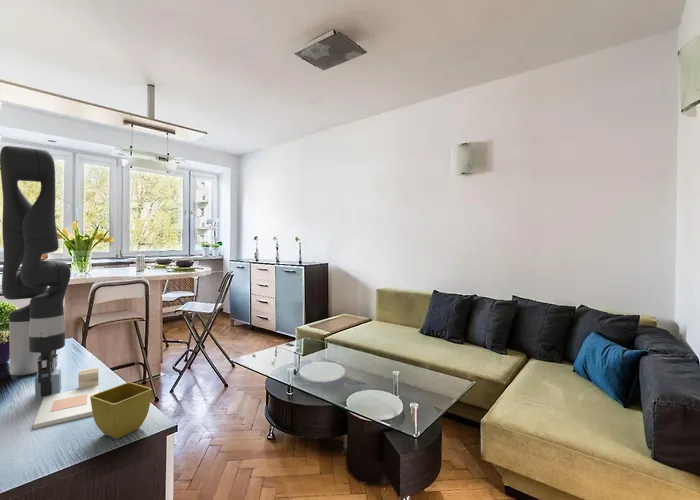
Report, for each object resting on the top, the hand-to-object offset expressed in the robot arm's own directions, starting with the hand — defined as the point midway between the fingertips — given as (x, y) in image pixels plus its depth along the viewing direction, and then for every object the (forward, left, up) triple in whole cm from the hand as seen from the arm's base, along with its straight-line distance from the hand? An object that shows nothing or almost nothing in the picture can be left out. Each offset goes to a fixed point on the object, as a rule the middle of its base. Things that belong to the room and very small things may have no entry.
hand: (48, 390), depth 96 cm
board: (+13, +6, -1) cm, 14 cm away
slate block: (0, 0, -1) cm, 1 cm away
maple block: (+1, +9, -1) cm, 9 cm away
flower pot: (+35, +16, -1) cm, 38 cm away
